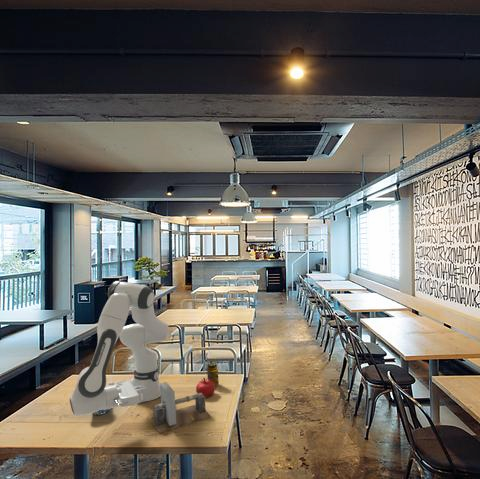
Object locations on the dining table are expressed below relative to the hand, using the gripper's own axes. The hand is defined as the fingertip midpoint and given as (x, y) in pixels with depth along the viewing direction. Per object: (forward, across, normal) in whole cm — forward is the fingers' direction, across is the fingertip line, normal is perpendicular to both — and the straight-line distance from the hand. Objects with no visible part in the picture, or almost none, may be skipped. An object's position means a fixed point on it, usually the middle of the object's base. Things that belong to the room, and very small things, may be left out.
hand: (145, 388), depth 156 cm
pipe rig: (+15, +1, +18) cm, 23 cm away
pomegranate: (+34, +17, +18) cm, 42 cm away
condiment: (+42, +25, +17) cm, 52 cm away
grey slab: (+10, +1, +16) cm, 19 cm away
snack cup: (-16, +29, +18) cm, 38 cm away
